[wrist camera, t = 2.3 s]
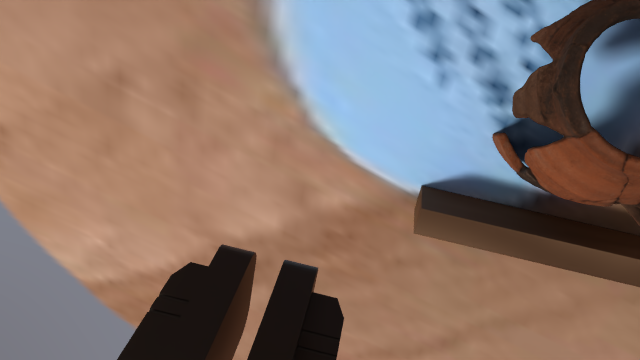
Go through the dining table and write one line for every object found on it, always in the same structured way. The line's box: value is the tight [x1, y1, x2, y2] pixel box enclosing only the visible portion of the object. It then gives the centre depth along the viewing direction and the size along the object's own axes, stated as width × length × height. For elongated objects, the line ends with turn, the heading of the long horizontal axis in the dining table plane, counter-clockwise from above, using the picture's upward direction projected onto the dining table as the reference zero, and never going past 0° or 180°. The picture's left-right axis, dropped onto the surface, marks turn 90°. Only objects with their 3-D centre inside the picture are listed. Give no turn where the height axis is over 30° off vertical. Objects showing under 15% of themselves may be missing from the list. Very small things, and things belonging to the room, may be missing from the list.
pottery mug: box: [493, 0, 640, 226], centre depth 26 cm, size 12×10×8 cm
